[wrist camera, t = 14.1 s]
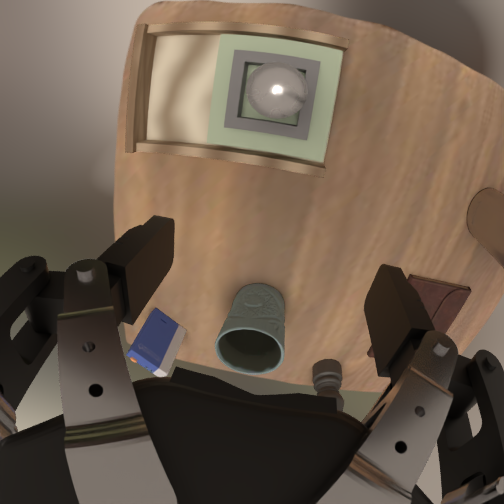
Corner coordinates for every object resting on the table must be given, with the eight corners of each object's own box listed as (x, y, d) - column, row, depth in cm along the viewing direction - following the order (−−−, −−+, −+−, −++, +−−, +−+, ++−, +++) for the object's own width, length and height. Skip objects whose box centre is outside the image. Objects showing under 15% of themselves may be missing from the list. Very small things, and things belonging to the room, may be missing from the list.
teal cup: (262, 331, 53) (253, 382, 43) (218, 301, 51) (201, 351, 40) (300, 301, 48) (299, 354, 38) (254, 266, 46) (242, 317, 36)
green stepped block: (334, 59, 28) (346, 46, 21) (318, 153, 35) (325, 166, 28) (232, 43, 29) (214, 28, 22) (219, 136, 36) (199, 146, 28)
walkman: (149, 313, 55) (125, 356, 45) (155, 307, 54) (130, 350, 44) (180, 336, 57) (161, 380, 47) (187, 330, 56) (167, 376, 45)
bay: (343, 45, 28) (350, 37, 24) (320, 170, 37) (324, 180, 33) (153, 31, 29) (137, 24, 25) (142, 145, 38) (125, 152, 34)
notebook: (366, 351, 53) (368, 358, 51) (408, 272, 43) (412, 278, 42) (423, 356, 52) (425, 362, 51) (468, 285, 43) (472, 291, 41)
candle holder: (344, 360, 54) (352, 471, 33) (336, 377, 57) (340, 480, 36) (315, 357, 55) (314, 472, 33) (309, 375, 58) (306, 481, 36)
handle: (303, 81, 26) (311, 67, 15) (297, 116, 28) (302, 123, 17) (265, 75, 26) (250, 58, 16) (260, 110, 28) (242, 114, 18)
